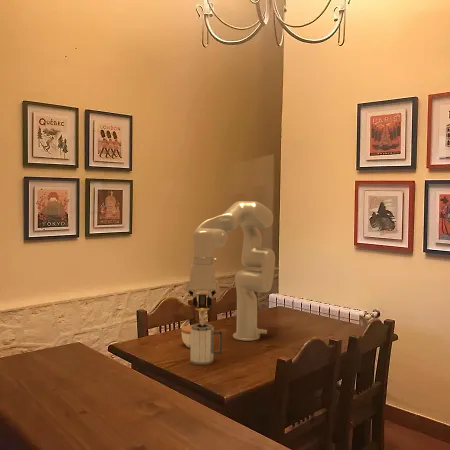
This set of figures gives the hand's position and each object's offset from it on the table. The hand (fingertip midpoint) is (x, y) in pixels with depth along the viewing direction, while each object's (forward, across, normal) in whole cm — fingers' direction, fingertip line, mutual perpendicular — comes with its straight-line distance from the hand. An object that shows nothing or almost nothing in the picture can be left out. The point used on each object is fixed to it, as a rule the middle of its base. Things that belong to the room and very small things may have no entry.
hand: (202, 306), depth 198 cm
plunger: (+16, 0, 0) cm, 16 cm away
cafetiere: (+22, -2, 0) cm, 22 cm away
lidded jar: (+22, +3, -21) cm, 31 cm away
